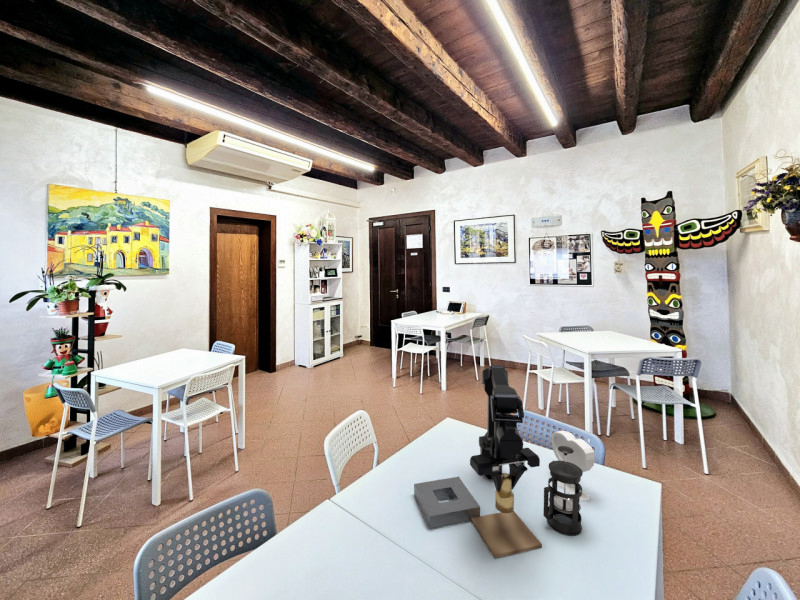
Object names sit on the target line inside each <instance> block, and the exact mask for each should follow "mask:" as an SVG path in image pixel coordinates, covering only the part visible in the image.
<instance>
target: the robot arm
mask: <svg viewBox="0 0 800 600" xmlns="http://www.w3.org/2000/svg"><path fill="white" fill-rule="evenodd" d="M508 372H509V371H508V370H506V368H505V365H501V364H499V365H497V364H496V365H495V364H491V365H488V368H485V369H483V370H482V373H481V384H482V385H483V389H484V392H485V393H486V395H487V420H486V421H487V423H486V424H487V428H486V429H487V431H486V432H485V433H484V435H480V436H479V437H478V446H479V452H480V453H479V454H475V455H472V456H471V457H470V459H469V466H470V467H471V468H472V470H473V471H474V472H475V473H476V474H477V476H481V477H482V476H484V477H485V478H486V480H488V481H493V484H494V488H495V491H496V490H497V492H500V487H501V477H502V473H503V466H505V465H508V467H509V472H508V474H509V475H511V476H512V491H513V490H514V488H515V487H516V485H517V484H518V481H520V479H521V478H522V476H523V474H524V473H525V472H527V471H528V470H529V469H528V467H530V468H535V467H540V463H541V462H540V461H541V459H540V457H539V455H538V454H536V452H535V451H533V450H532V449H530V447H524V441H523V438H522V436H521V434H520V431H519V428H518V424H523V423H524V418H525V413H524V406H523V400H522V399H521V396H519V395H518V392H517V390H516V389H515V388H513V387H511V386H510V384H509V373H508ZM517 414H518V415H517ZM525 462H527V465H528V467H527V466H526V465H525V464H526V463H525Z"/></svg>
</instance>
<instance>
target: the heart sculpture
mask: <svg viewBox="0 0 800 600" xmlns="http://www.w3.org/2000/svg"><path fill="white" fill-rule="evenodd" d="M550 438H551V439H550V440H551V447H552V450H553V453H554V456H555V457H556V459H557V461H565V455H564V453H563V452H560V451H559V450H558V447H559V446H567V447H570V448H572V449H573V450H574V452H573V453H571V454H567V456H566V462H570V463H573V464H575V465H577V466H578V467H579V468H580V469H581V470H582V472H583V473H584V472H588V471H590V470H591V469H592V468H593V467H594V464H595V460H596V455H595V451H594V449H593V448H592V447H591V445H590V444H589V443H588V442H587V441H586V440H583V439H582V438H576V437H575V436H574V435H573V433H571V432H570V431H567V430H558V431H554V432H552V433H551V437H550ZM557 485H559V486H560V487H561V488H562V489H564V483H562V482H559V481H557ZM565 491H566V492H567V493H568V494H575V485H574V484H566V489H565ZM580 492H581V490H580ZM590 499H591V496H590V495H589V494H588V493H586V492H585V491H583V490H582V496H581V497H580V501H588V500H590Z"/></svg>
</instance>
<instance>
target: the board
mask: <svg viewBox="0 0 800 600" xmlns="http://www.w3.org/2000/svg"><path fill="white" fill-rule="evenodd" d="M470 522H471V524H472V525H473V526H474V528H475V530H476V531H477V533H478V535H479V536H480V538H481V540H482V541H483V543H484V544H485V546H486V547H487V548H488V551H489V552H490V553H491V555H492V557H493V558H494V559H500V558H503V557H508V556H512V555H515V554H516V555H517V554H521V553H526V552H530V551H533V550H538V549H541V548H542V549H543V544H542V542H541V541H540V540H539V539H538V538H537V536H536V535H535V534H534V533H533V531H532V530H531V529H530V528H529V527H528V525H526V524H525V522H524V521H523V520H522V519H521V518H520V516H519V515H518V514H517V513H516V512H515V510H513V512H511V513H502V512H500V511H498V512H496V513H490V514H485V515H480V516H479V517H474V518H471V521H470Z"/></svg>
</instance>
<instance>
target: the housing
mask: <svg viewBox="0 0 800 600" xmlns="http://www.w3.org/2000/svg"><path fill="white" fill-rule="evenodd" d="M413 496H414V498H415V500H416V503H417V505H418V507H419V510H420V512H421V513H422V515H423V518H424V520H425V522H426V524H427V527H428V529H429V530H433V529H434V530H435V529H439V528H443V527H444V528H445V527H449V526H454V525H458V524H463V523H464V524H465V523H470V522H471V518H474V517H479V516H481V506H480V504H479V503H478V502H477V500H476V499H475V498H474V496H473V495H472V493H471V492H470V490H469V489H468V488H467V486H466V485H465V483H464V482H463V481H462V479H461V477H460V476H454V477H448V478H441V479H437V480H436V479H435V480H429V481H425V482H424V481H423V482H417V483H414V484H413ZM446 500H448V501H446ZM441 501H443V502H441Z"/></svg>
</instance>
